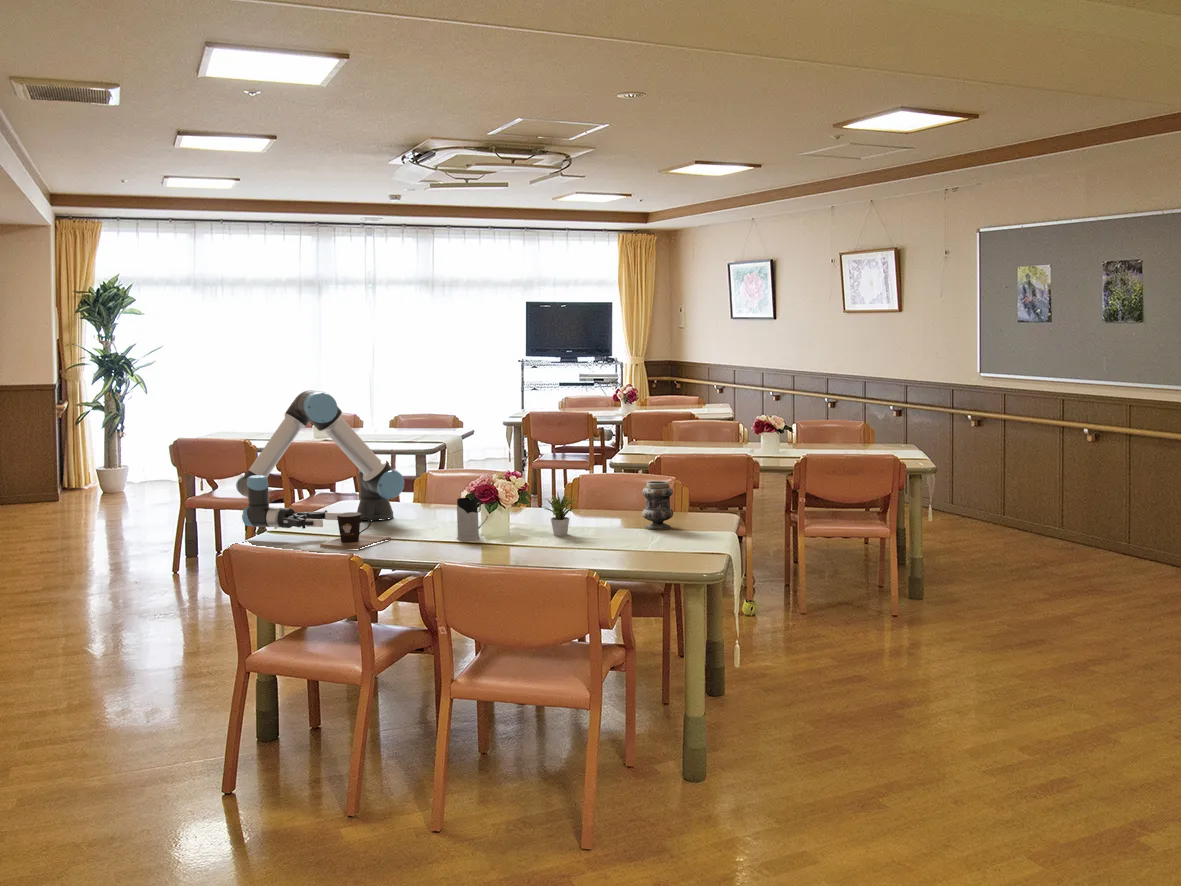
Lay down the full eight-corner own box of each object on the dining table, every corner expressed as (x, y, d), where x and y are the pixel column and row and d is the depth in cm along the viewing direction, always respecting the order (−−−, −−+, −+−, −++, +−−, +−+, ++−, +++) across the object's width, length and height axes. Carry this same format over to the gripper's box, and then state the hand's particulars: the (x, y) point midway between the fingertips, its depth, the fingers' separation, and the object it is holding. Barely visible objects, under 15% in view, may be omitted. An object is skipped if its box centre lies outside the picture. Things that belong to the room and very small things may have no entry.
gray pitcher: (452, 538, 417) (451, 498, 415) (484, 533, 425) (483, 494, 424) (464, 541, 410) (462, 501, 408) (496, 536, 418) (495, 497, 417)
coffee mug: (333, 542, 407) (331, 515, 406) (348, 538, 415) (347, 511, 414) (358, 544, 402) (357, 517, 401) (373, 540, 410) (372, 513, 408)
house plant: (575, 539, 411) (574, 496, 409) (538, 538, 413) (537, 495, 412) (582, 531, 425) (582, 489, 423) (547, 531, 427) (546, 489, 425)
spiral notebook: (353, 536, 423) (353, 533, 423) (390, 539, 416) (390, 536, 416) (320, 547, 405) (320, 543, 405) (358, 550, 398) (358, 547, 398)
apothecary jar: (673, 524, 436) (673, 479, 433) (673, 530, 424) (672, 484, 422) (643, 524, 437) (642, 479, 435) (641, 530, 425) (640, 484, 423)
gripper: (300, 521, 431) (348, 523, 425) (263, 534, 407) (314, 536, 401) (299, 502, 430) (348, 504, 424) (262, 513, 406) (313, 516, 400)
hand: (331, 519), depth 412 cm, fingers open, 13 cm apart
